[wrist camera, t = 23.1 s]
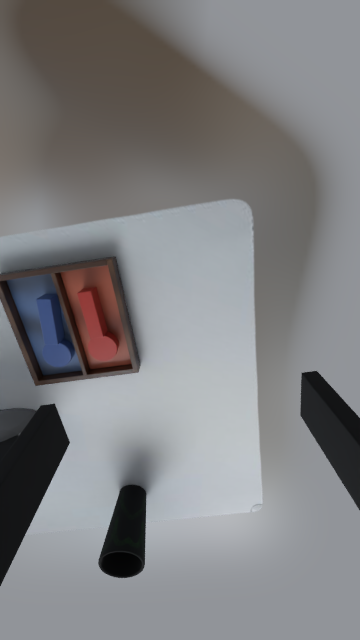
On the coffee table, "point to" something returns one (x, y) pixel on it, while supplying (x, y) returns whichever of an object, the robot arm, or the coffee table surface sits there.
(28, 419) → the alarm clock
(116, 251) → the coffee table surface
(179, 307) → the coffee table surface
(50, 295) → the blue disc-ended stick
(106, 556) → the cup
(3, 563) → the robot arm
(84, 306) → the red spoon
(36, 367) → the divided sorting tray
